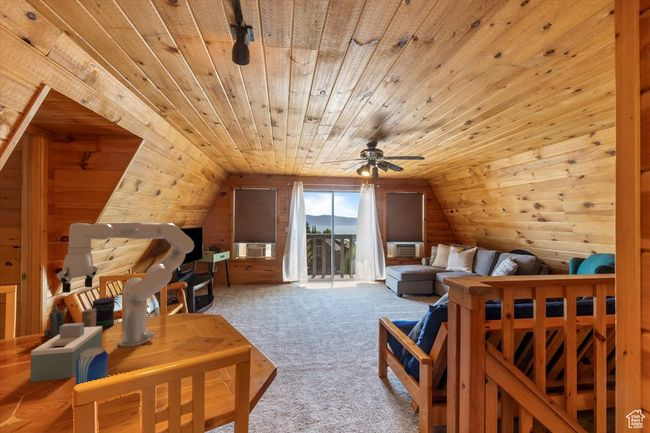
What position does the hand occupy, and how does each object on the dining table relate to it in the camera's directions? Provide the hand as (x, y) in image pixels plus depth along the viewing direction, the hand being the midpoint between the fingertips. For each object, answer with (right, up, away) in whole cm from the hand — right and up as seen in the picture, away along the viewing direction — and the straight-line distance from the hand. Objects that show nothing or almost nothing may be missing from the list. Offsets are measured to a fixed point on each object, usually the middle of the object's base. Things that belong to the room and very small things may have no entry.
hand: (77, 289), depth 123 cm
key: (-7, -30, +13) cm, 33 cm away
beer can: (+29, -31, -27) cm, 50 cm away
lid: (+3, -20, -7) cm, 21 cm away
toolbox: (+3, -30, -7) cm, 31 cm away
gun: (-27, -29, +17) cm, 44 cm away
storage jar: (-15, -30, +33) cm, 47 cm away
